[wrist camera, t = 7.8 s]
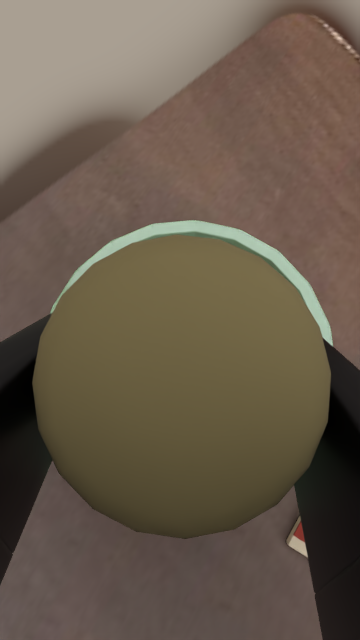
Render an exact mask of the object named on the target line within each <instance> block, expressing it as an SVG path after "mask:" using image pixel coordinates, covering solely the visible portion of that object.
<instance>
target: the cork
mask: <svg viewBox="0 0 360 640" xmlns="http://www.w3.org/2000/svg"><path fill="white" fill-rule="evenodd" d="M330 383H331V370H330V366H329V362H328V358H327V354H326V350H325V346H324V342H323V338H322V334H321V330H320V327H319V325H318V323H317V322H316V320H315V319H314V317H313V315H312V314H311V312H310V310H309V309H308V307H307V305H306V304H305V302H304V301H303V299H302V297H301V296H300V294H299V292H298V291H297V289H296V287H294V286H293V285H292V284H291V283H290V282H289V281H288V280H286V279H285V278H284V277H283V276H282V275H281V274H280V273H278V272H277V271H276V270H275V269H274V268H273V267H271V266H270V265H269V264H268V263H267V262H266V261H265V260H263V259H262V258H261V257H259V256H257V255H254V254H252V253H250V252H248V251H245V250H243V249H241V248H238V247H236V246H234V245H232V244H229V243H227V242H225V241H223V240H220V239H212V238H203V237H194V236H185V235H176V234H175V235H170V236H165V237H160V238H155V239H149V240H144V241H139V242H134V243H131V244H129V245H127V246H125V247H124V248H122V249H120V250H118V251H116V252H114V253H112V254H110V255H109V256H107V257H105V258H103V259H101V260H99V261H97V262H96V263H94V264H92V265H91V266H90V267H89V268H88V269H87V270H86V271H85V272H84V273H83V275H82V276H81V277H80V278H79V279H78V280H77V281H76V282H75V283H74V284H73V285H72V286H71V287H70V288H69V289H68V290H67V291H66V292H65V293H64V294H63V295H62V296H61V298H60V300H59V301H58V303H57V305H56V307H55V309H54V311H53V313H52V315H51V317H50V319H49V321H48V323H47V325H46V327H45V328H44V330H43V332H42V334H41V336H40V341H39V347H38V352H37V358H36V364H35V369H34V375H33V381H32V385H33V393H34V401H35V408H36V416H37V423H38V430H39V432H40V434H41V436H42V439H43V441H44V443H45V445H46V447H47V449H48V451H49V453H50V455H51V458H52V460H53V462H54V464H55V466H56V468H57V470H58V472H59V474H60V475H61V476H62V477H63V478H64V479H65V480H66V481H67V482H68V483H69V484H70V485H71V486H72V488H73V489H74V490H75V491H76V492H77V493H78V494H79V495H80V496H81V497H82V498H83V499H84V500H85V501H86V502H87V503H88V504H89V505H90V506H91V507H92V509H94V510H96V511H98V512H100V513H102V514H104V515H106V516H108V517H109V518H111V519H113V520H115V521H117V522H119V523H121V524H123V525H125V526H127V527H129V528H130V529H132V530H134V531H136V532H143V533H149V534H156V535H163V536H170V537H176V538H183V539H187V538H192V537H198V536H203V535H208V534H213V533H218V532H224V531H229V530H234V529H236V528H237V527H239V526H241V525H243V524H244V523H246V522H248V521H250V520H251V519H253V518H255V517H256V516H258V515H260V514H262V513H263V512H265V511H267V510H268V509H270V508H272V507H274V506H275V505H277V504H278V503H279V502H280V500H281V499H282V498H283V497H284V496H285V495H286V494H287V492H288V491H289V490H290V489H291V488H292V487H293V485H294V484H295V483H296V482H297V481H298V480H299V478H300V477H301V476H302V475H303V474H304V473H305V472H306V470H307V469H308V468H309V467H310V464H311V462H312V459H313V457H314V454H315V452H316V449H317V447H318V445H319V442H320V440H321V437H322V435H323V432H324V430H325V427H326V425H327V422H328V412H329V398H330Z"/></svg>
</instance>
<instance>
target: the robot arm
mask: <svg viewBox="0 0 360 640" xmlns="http://www.w3.org/2000/svg"><path fill="white" fill-rule="evenodd" d="M51 315H52V313H51V314H49V315H47V316H46V317H44V318H42V319H40V320H39V321H37V322H35V323H33V324H32V325H30V326H28V327H26V328H25V329H23V330H21V331H19V332H18V333H16V334H14V335H12V336H11V337H9V338H7V339H5V340H4V341H2V342H0V584H1V582H2V580H3V577H4V575H5V573H6V570H7V568H8V565H9V563H10V561H11V558H12V556H13V554H12V553H13V552H14V550H15V548H16V546H17V543H18V541H19V539H20V536H21V534H22V531H23V529H24V527H25V524H26V522H27V519H28V517H29V515H30V512H31V510H32V507H33V505H34V503H35V500H36V498H37V495H38V493H39V491H40V488H41V486H42V483H43V481H44V479H45V476H46V474H47V472H48V469H49V467H50V464H51V462H52V458H51V455H50V453H49V451H48V449H47V447H46V445H45V443H44V441H43V439H42V436H41V434H40V432H39V430H38V423H37V416H36V408H35V401H34V393H33V385H32V381H33V375H34V369H35V364H36V358H37V352H38V347H39V341H40V336H41V334H42V332H43V330H44V328H45V327H46V325H47V323H48V321H49V319H50V317H51ZM322 338H323V337H322ZM323 342H324V346H325V350H326V354H327V358H328V362H329V366H330V370H331V383H330V398H329V412H328V422H327V425H326V427H325V430H324V432H323V435H322V437H321V440H320V442H319V445H318V447H317V449H316V452H315V454H314V457H313V459H312V462H311V464H310V467H309V468H308V469H307V470H306V472H305V473H304V474H303V475H302V476H301V477H300V478H299V480H298V481H297V482H296V483H295V484H294V486H295V491H296V497H297V502H298V507H299V513H300V518H301V524H302V529H303V534H304V540H305V545H306V550H307V556H308V561H309V567H310V572H311V577H312V583H313V588H314V592H315V593H316V594H315V600H316V605H317V611H318V616H319V621H320V627H321V632H322V638H323V640H360V370H359V369H358V368H356V367H355V366H354V365H353V364H352V363H351V362H350V361H349V360H347V359H346V358H345V357H344V356H343V355H342V354H341V353H340V352H338V351H337V350H336V349H335V348H334V347H333V346H332V345H331V344H329V343H328V342H327V341H326V340H325V339H324V338H323Z"/></svg>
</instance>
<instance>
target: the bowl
mask: <svg viewBox="0 0 360 640" xmlns="http://www.w3.org/2000/svg"><path fill="white" fill-rule="evenodd" d="M175 234H176V235H185V236H194V237H203V238H212V239H220V240H223V241H225V242H227V243H229V244H232V245H234V246H236V247H238V248H241V249H243V250H245V251H248V252H250V253H252V254H254V255H257V256H259V257H261V258H262V259H263V260H265V261H266V262H267V263H268V264H269V265H270V266H271V267H273V268H274V269H275V270H276V271H277V272H278V273H280V274H281V275H282V276H283V277H284V278H285V279H286V280H288V281H289V282H290V283H291V284H292V285H293V286H294V287H296V289H297V291H298V292H299V294H300V296H301V297H302V299H303V301H304V302H305V304H306V305H307V307H308V309H309V310H310V312H311V314H312V315H313V317H314V319H315V320H316V322H317V323H318V325H319V327H320V330H321V334H322V337H323V338H324V339H325V340H326V341H327V342H328V343H329V344H331V345H332V346H333V342H332V335H331V328H330V324H329V322H328V320H327V318H326V316H325V314H324V312H323V310H322V308H321V306H320V304H319V302H318V300H317V298H316V295H315V293H314V291H313V289H312V287H311V285H310V284H309V283H308V282H307V280H306V279H305V278H304V277H303V276H302V275H301V274H300V273H299V272H298V271H297V270H296V269H295V268H294V267H293V266H292V265H291V264H290V262H289V261H288V260H287V259H286V258H285V257H284V256H283V255H282V254H281V253H280V252H278V250H276V249H274V248H272V247H271V246H269V245H267V244H265V243H263V242H262V241H260V240H258V239H256V238H255V237H253V236H251V235H249V234H247V233H246V232H244V231H242V230H240V229H236V228H232V227H227V226H222V225H217V224H213V223H208V222H203V221H198V220H196V221H195V220H188V221H178V222H167V223H157V224H152V225H148V226H146V227H143V228H141V229H138V230H136V231H134V232H131V233H129V234H126V235H124V236H122V237H119V238H117V239H114V240H112V241H111V242H109V243H108V244H107V245H105V246H104V247H103V248H102V249H101V250H99V251H98V252H97V253H96V254H95V255H93V256H92V257H91V258H90V259H89V260H87V261H86V262H85V263H84V264H83V265H81V266H80V267H79V268H78V269H77V271H75V273H74V274H73V276H72V277H71V279H70V280H69V282H68V283H67V285H66V287H65V288H64V290H63V291H62V293H61V294H60V296H59V297H58V299H57V300H56V302H55V304H54V305H53V307H52V309H51V312H50V314H51V313H53V311H54V309H55V307H56V305H57V303H58V301H59V300H60V298H61V296H62V295H63V294H64V293H65V292H66V291H67V290H68V289H69V288H70V287H71V286H72V285H73V284H74V283H75V282H76V281H77V280H78V279H79V278H80V277H81V276H82V275H83V273H84V272H85V271H86V270H87V269H88V268H89V267H90V266H91V265H92V264H94V263H96V262H97V261H99V260H101V259H103V258H105V257H107V256H109V255H110V254H112V253H114V252H116V251H118V250H120V249H122V248H124V247H125V246H127V245H129V244H131V243H134V242H139V241H144V240H149V239H155V238H160V237H165V236H170V235H175Z"/></svg>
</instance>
